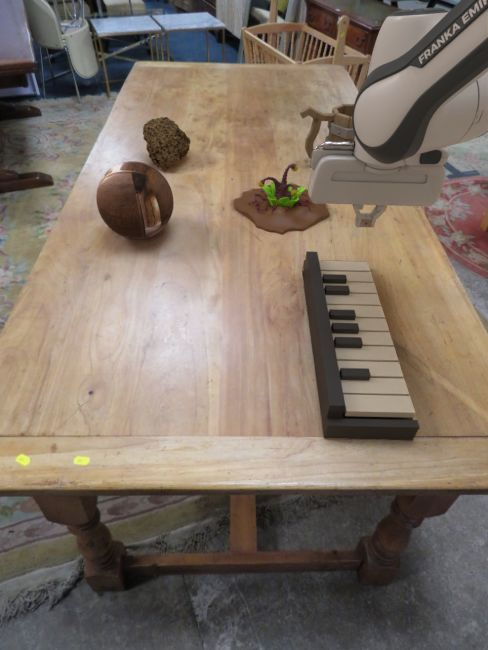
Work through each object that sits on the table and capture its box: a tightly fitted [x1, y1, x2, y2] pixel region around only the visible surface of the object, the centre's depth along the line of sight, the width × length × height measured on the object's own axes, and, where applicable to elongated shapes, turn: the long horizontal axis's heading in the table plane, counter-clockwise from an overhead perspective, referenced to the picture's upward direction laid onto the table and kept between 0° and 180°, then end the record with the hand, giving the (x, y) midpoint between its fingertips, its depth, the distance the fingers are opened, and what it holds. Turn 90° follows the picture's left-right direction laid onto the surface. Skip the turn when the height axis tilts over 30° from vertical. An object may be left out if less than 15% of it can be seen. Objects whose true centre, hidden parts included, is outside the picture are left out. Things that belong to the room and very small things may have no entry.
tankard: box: [299, 103, 355, 160], centre depth 112 cm, size 20×13×15 cm, turn 92°
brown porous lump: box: [142, 116, 191, 171], centre depth 114 cm, size 11×13×15 cm
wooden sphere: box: [95, 160, 175, 240], centre depth 87 cm, size 15×15×15 cm
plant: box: [233, 163, 330, 235], centre depth 95 cm, size 20×20×11 cm
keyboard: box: [301, 250, 421, 441], centre depth 69 cm, size 12×36×6 cm, turn 179°
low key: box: [319, 260, 371, 272], centre depth 79 cm, size 9×3×1 cm, turn 89°
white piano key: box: [343, 394, 416, 419], centre depth 58 cm, size 9×3×1 cm, turn 89°
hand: (363, 225), depth 73 cm, fingers closed
